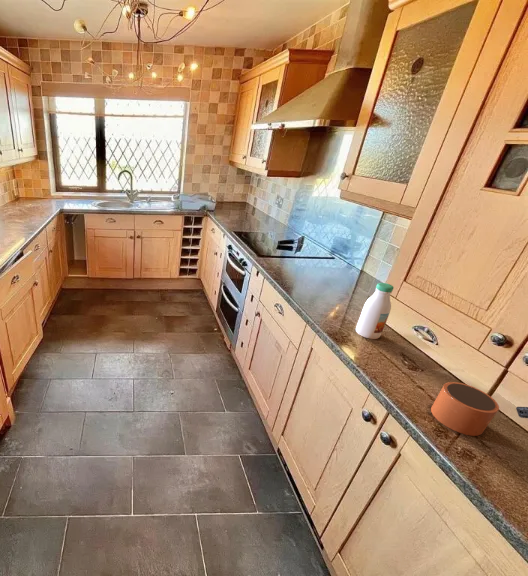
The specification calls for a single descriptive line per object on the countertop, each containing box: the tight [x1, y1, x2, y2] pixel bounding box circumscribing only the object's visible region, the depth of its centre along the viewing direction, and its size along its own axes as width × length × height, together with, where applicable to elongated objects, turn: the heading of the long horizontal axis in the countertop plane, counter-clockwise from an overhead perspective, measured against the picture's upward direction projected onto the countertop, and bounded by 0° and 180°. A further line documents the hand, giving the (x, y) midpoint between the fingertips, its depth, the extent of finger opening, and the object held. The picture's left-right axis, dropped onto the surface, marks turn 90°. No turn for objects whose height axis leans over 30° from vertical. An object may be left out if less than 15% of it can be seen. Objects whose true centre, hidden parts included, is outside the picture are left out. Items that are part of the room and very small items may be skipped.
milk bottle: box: [355, 282, 394, 340], centre depth 109 cm, size 8×8×20 cm
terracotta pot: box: [430, 381, 500, 437], centre depth 78 cm, size 10×10×8 cm
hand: (520, 412), depth 65 cm, fingers closed
